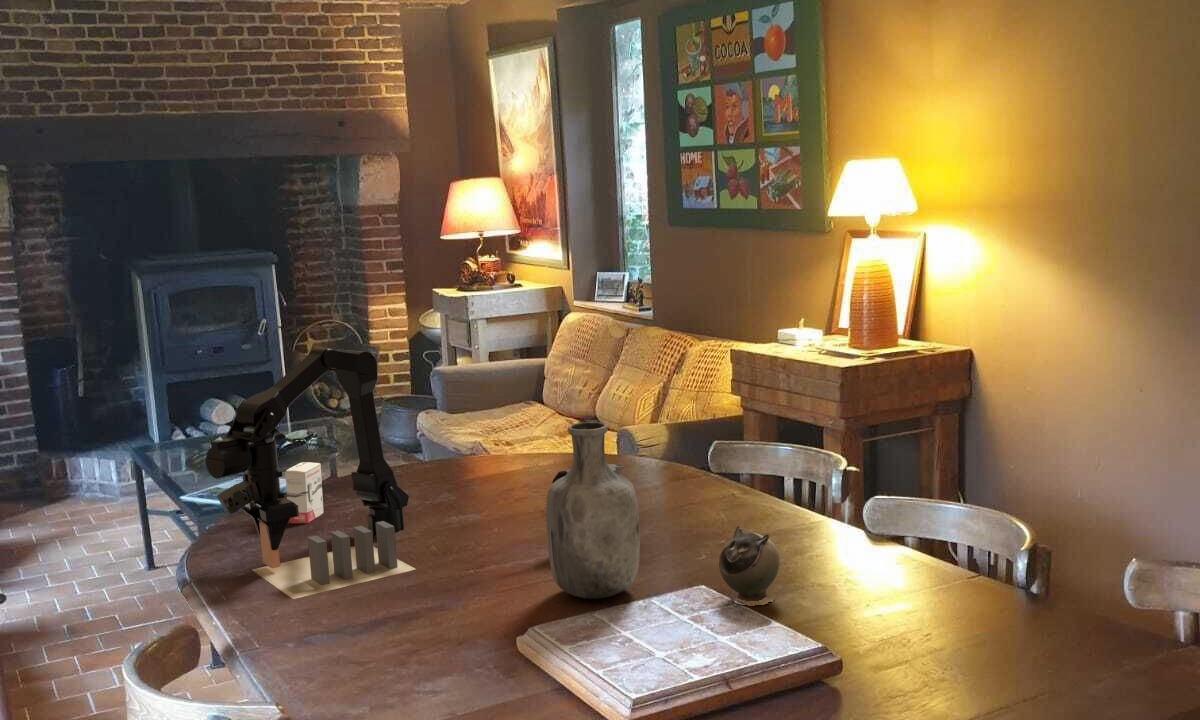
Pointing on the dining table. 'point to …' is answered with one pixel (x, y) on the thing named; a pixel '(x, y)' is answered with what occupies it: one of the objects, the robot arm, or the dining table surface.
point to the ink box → (305, 490)
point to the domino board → (298, 575)
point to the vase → (592, 521)
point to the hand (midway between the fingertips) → (269, 546)
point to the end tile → (268, 549)
